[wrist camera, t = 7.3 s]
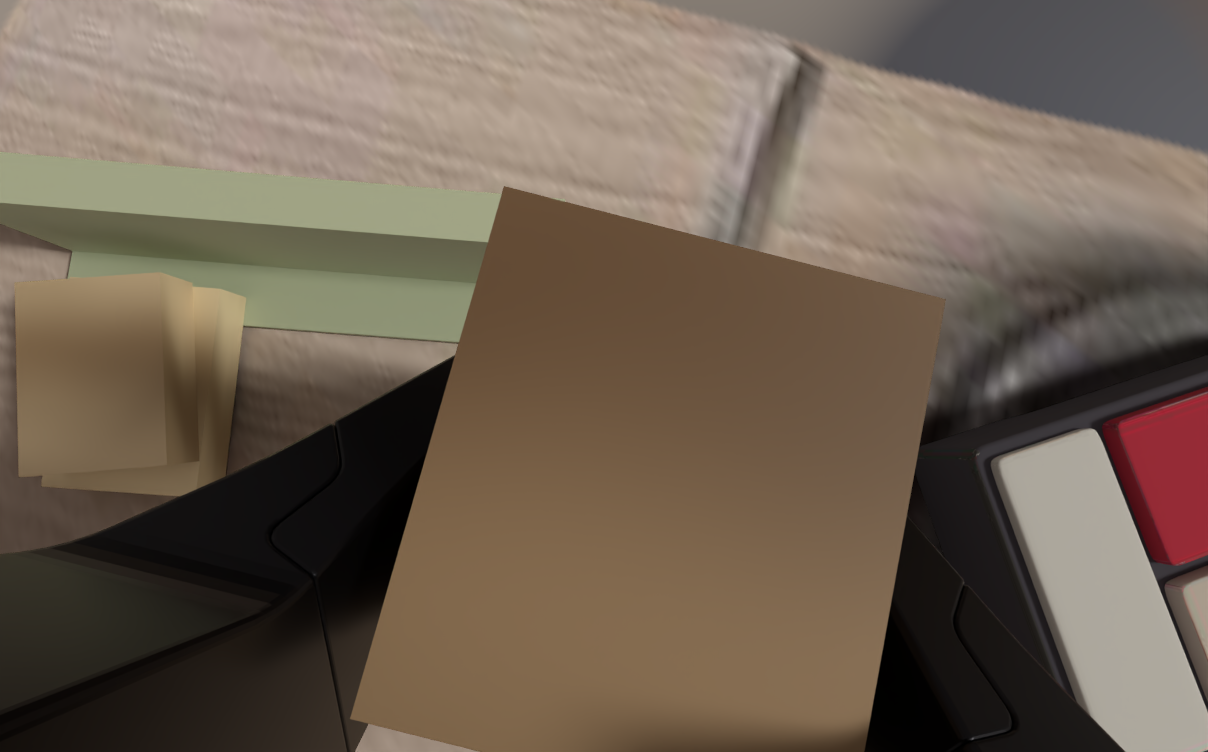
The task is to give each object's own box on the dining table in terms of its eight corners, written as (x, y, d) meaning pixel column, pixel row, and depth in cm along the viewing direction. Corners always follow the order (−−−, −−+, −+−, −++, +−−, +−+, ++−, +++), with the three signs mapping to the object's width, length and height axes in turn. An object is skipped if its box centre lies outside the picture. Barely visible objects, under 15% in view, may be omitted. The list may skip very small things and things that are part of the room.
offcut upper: (199, 461, 19) (166, 465, 18) (62, 472, 19) (18, 477, 18) (192, 283, 20) (159, 272, 18) (58, 292, 20) (14, 282, 18)
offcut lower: (223, 491, 21) (195, 497, 19) (80, 481, 21) (41, 486, 19) (246, 297, 21) (220, 289, 20) (106, 286, 21) (69, 276, 20)
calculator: (1526, 645, 18) (1124, 821, 17) (1344, 609, 23) (1008, 746, 21) (1379, 318, 20) (987, 449, 18) (1231, 342, 24) (903, 450, 22)
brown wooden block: (660, 563, 15) (848, 844, 5) (514, 526, 15) (350, 719, 5) (698, 399, 16) (946, 299, 5) (557, 363, 16) (504, 184, 5)
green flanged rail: (561, 351, 22) (554, 323, 17) (68, 313, 21) (-89, 273, 16) (571, 222, 22) (568, 159, 17) (92, 182, 22) (-53, 106, 17)
